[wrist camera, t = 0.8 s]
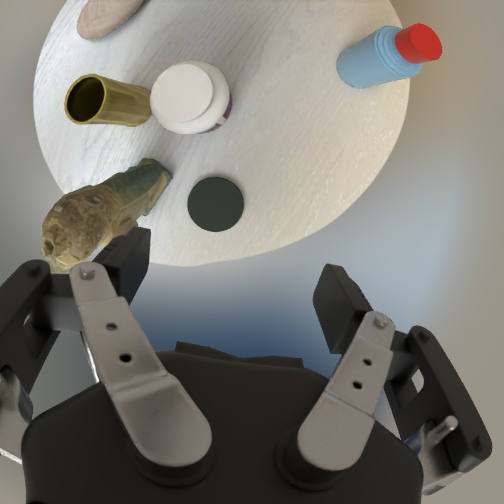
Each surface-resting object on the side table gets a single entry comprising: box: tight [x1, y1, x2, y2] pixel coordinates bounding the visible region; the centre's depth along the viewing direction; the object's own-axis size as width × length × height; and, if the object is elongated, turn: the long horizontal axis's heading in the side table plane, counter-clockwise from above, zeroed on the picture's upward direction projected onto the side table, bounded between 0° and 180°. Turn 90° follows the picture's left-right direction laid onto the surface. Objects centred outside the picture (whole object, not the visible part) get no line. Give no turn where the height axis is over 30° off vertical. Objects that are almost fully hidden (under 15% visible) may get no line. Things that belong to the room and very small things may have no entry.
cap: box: [395, 24, 442, 64], centre depth 17 cm, size 4×4×3 cm
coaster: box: [188, 177, 244, 232], centre depth 39 cm, size 8×8×1 cm
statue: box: [41, 158, 173, 274], centre depth 26 cm, size 7×8×25 cm
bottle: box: [337, 26, 423, 88], centre depth 24 cm, size 6×6×17 cm
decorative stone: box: [77, 0, 144, 40], centre depth 23 cm, size 13×9×5 cm
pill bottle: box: [150, 60, 232, 135], centre depth 27 cm, size 8×8×14 cm
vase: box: [65, 74, 152, 127], centre depth 26 cm, size 6×6×14 cm
